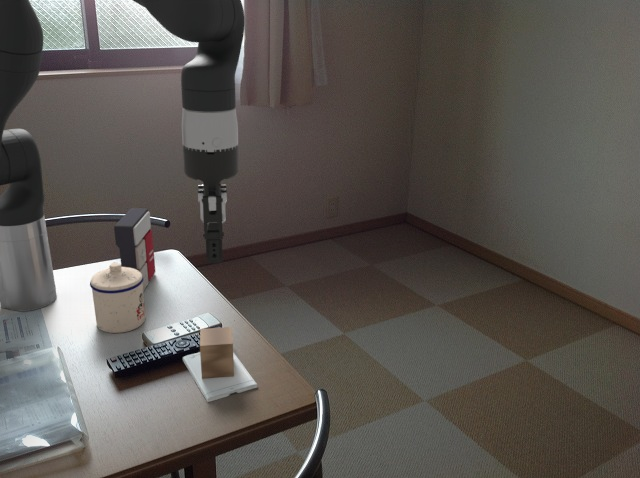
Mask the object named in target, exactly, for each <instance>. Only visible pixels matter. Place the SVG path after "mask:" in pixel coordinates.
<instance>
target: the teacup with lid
mask: <svg viewBox="0 0 640 478" xmlns="http://www.w3.org/2000/svg"><path fill="white" fill-rule="evenodd" d="M142 282H143V276H142V274H141V273H140V272H139V271H138V270H136V269H134V268H129V267H121V262H120V263H119V262H113V263H111V264H109V266H108V268H106V269H102V270H100V271H98V272H96V273H95V274H94V275H92V277H91V278H90V281H89V286H90V288H91V292H92V293H91V294H92V299H93V300H92V301H93V307H94V315H95V322H96V326H97V328H98V329H99V330H101V331H103V332H105V333H111V334H120V333H121V334H122V333H127V332H131V331H133V330H136V329H138V328H139V327H141V326H142V325H143V324H144V323H145V321H146V308H145V297H144V291H143V284H142Z"/></svg>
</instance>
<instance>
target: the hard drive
mask: <svg viewBox="0 0 640 478" xmlns="http://www.w3.org/2000/svg"><path fill="white" fill-rule="evenodd" d="M233 360H234V376H231V377H218V378H205V379H202V373H201V356H200V351H198V352H196V353H195V352H194V353H191V354H187V355H185V356H182V362H183V364H184V365H185V366H186V368H187V370H188V372H189V374H190V375H191V377H192V379H193V380H194V382H195V384H196V385H197V386H198V389H199V390H200V392H201V393H202V395H203V397H204V399H205V400H206V402H207V403H209V402H213V401H216V400H217V401H218V400H220V399H223V398H226V397H229V396H232V395H235V394H240V393H243V392H247V391H249V390H253V389H256V388H257V389H258V383H257V382H256V381H255V380H254V378H253V377H252V375H251V374H250V373H249V371H248V370H247V369H246V367H245V365H244V364H243V363H242V362H241V360H240V359H239V357H238V356H237V355H236V353H235V352H234V351H233Z"/></svg>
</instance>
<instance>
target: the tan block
mask: <svg viewBox="0 0 640 478" xmlns="http://www.w3.org/2000/svg"><path fill="white" fill-rule="evenodd" d="M199 331H200V332H199V333H200V335H199V336H200V337H199V352H200V356H201V373H202V379H205V378H218V377H231V376H234V360H233V352H234V342H233V341H234V340H233V327H232V326H229V327H228V326H227V327H225V326H224V327H214V328H213V327H212V328H200V330H199Z"/></svg>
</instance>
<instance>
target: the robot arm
mask: <svg viewBox="0 0 640 478" xmlns="http://www.w3.org/2000/svg"><path fill="white" fill-rule="evenodd" d="M132 1H133V2H134V3H136V4H138V5H139V6H142V7H143V8H145V9H146V10H147V12H148V13H149V14H150V15H151V16H152V17H153V18H154V19H155V20H156V21H157V22H158V23H159V24H160V25H161V26H162V27H163V28H164V29H165V30H166V31H167V32H169V33H170V34H172V35H173V36H175V37H177V38H178V39H181V40H184V41H186V42H188V43H189V42H190V43H198V44H197V50H196V54H195V56H194V58H193V59H192V60H190V61H189V62H187V63H186V64H184V65H183V67H182V68H181V74H180V75H181V76H180V81H181V82H180V85H181V86H180V87H181V104H182V105H181V106H182V116H181V137H182V142H181V143H182V155H183V156H182V157H183V159H182V160H183V172H184V175H185V176H186V177H188V178H189V179H191V180H195V181H197V180H199V181H201V182H202V183H203V184H198V185H197V188H198V190H197V201H198V204H199V210H200V212H199V213H200V222H201V223H202V224H203V232H202V235H203V238H204V240H205V252H206V255H205V256H206V257H205V258H206V263H208V264H220V263H222V262H223V259H224V258H223V256H224V255H223V238H224V236H225V233H224V231H223V224H224V223H225V222H226V218H227V217H226V216H227V215H226V203H227V201H228V196H227V195H228V194H227V184H222V183H221V182H222V181H224V180H230V179H233V178H234V177H236V176H237V175H238V174H239V172H240V171H239V170H240V167H239V165H240V164H239V162H240V160H239V124H238V116H237V110H236V107H237V106H236V103H237V102H236V72H237V67H238V65H239V62H240V61H239V59H240V55H241V50H242V45H243V40H244V33H245V26H246V25H245V23H246V21H245V19H246V17H245V10H244V6H243V3H242V0H132ZM43 49H44V31H43V27H42V25H41V22H40V20H39V17H38V16H37V13H36V11H35V10H34V7H33V6H32V3H31V2H30V0H0V186H4V185H8V187H7V188H6V189H5V190H4V192H3V193H1V195H0V308H1V309H8V310H11V311H17V312H26V311H27V312H29V311H35V310H38V309H41V308H44V307H48V306H49V305H50V304H52V303H54V302H55V301H56V299H57V296H58V295H57V290H56V289H57V288H56V283H55V282H56V281H55V277H54V270H53V263H52V262H53V261H52V256H51V249H50V244H49V238H48V237H49V236H48V232H47V231H48V230H47V226H46V225H47V223H46V218H45V212H44V205H45V190H44V183H43V182H44V181H43V170H42V161H41V156H40V155H41V154H40V150H39V147H38V145H37V142H36V140H35V139H34V137H33V136H32V134H31V133H30V132H29V131H27V130H26V129H23V128H10V129H5V127H6V124H7V123H8V120H9V118H10V117H11V115H12V114H13V112H14V110H15V109H16V108H17V107H18V106H19V104H20V103H21V102H22V101H23V100H24V98H25V97H26V96H27V95H28V93H29V92H30V90H31V89H32V88H33V86H34V85H35V83H36V81H37V80H38V77H39V74H40V71H41V65H42V59H43V58H42V57H43Z"/></svg>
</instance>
